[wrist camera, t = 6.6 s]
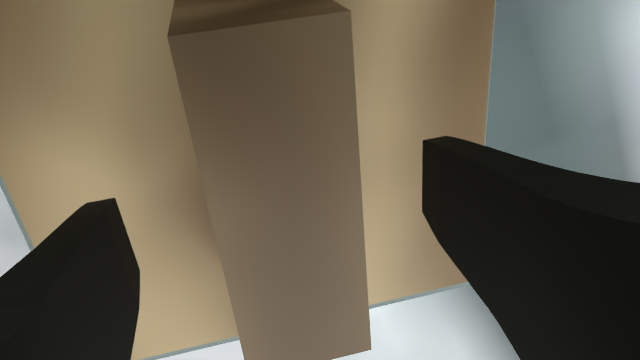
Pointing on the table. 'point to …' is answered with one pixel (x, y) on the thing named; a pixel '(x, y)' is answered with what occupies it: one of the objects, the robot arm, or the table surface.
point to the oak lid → (246, 152)
